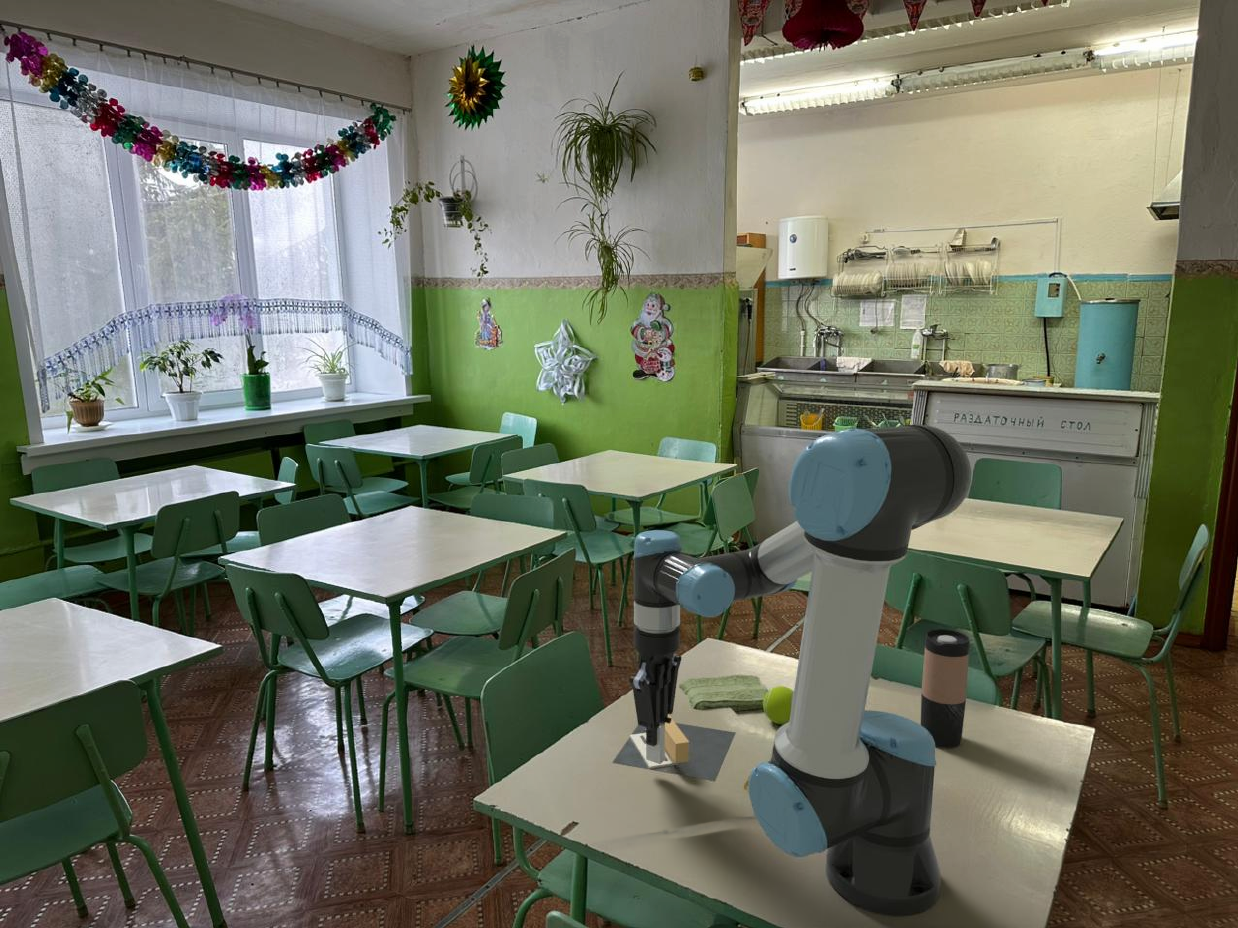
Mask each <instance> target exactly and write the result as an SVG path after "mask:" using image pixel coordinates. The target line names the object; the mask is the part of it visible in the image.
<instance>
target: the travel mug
mask: <svg viewBox="0 0 1238 928" xmlns="http://www.w3.org/2000/svg"><path fill="white" fill-rule="evenodd" d="M970 642H971V641H970V637H969V636H968V635H966V634H965V633H962V632H960V631H956V630H950V629H945V628H944V629H943V628H942V629H941V628H937V629H936V628H935V629H931V630H929V631H927V632H926V634H925V642H924V643H925V644H924V654H923V666H922V667H923V670H922V681H921V695H920V696H921V699H920V700H921V701H920V702H921V703H920V725H921V726H923V727H924V728H925V729H927V730H928V731H929V732H930V734H931V735H932V737H933V739H934V742H935V748H941V749H954V748H957V747H959V746H961V744H962V738H963V729H964V721H965V720H964V719H965V714H966V713H965V712H966V702H967V692H968V691H967V689H968V688H967V687H968V675H969V673H968V672H969V661H970V659H969V658H970V657H969V656H970Z"/></svg>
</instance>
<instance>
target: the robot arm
mask: <svg viewBox="0 0 1238 928" xmlns="http://www.w3.org/2000/svg"><path fill="white" fill-rule="evenodd" d="M971 483H972V466H971V462H970V460H969V457H968V454H967V451H965V449H964V447H963V446H962V444H961V443H960V442H959V441H958V440H957V439H956V438H955V437H954V436H953V435H950V433H948V432H946V431H945V430H943V429H940V428H938V427H935V426H933V425H932V426H930V425H927V424H907V425H900V426H899V425H898V426H889V427H878V428H877V427H876V428H862V429H861V428H855V427H854V428H848V429H845V430H841V431H840V430H839V431H838V432H832V433H828V434H825V435H822V436H820V437H818V438H816V439H814V440H813V442H811V443H809V444H808V445H807V446H806V447H805V448H803V450H802V451H801V453H800V454H799V456H798V457H797V458H796V461H795V463H794V465H793V467H792V470H791V475H790V479H789V485H788V486H789V488H788V493H789V494H788V495H789V502H790V505H791V506H794V508H795V509H794V511H793V515H794V518H795V520H796V521H794V522H793V523H791V524H790V525H788V526H786V527H785V528H783V529H781V530H779V531H778V532H776V533H774V534H773V535H771V536H769V537H768V538H766V539H765V540H763V541H762V542H760V543H758V544H756V545H754V546H753V547H751V548H748V549H744V550H740V551H734V552H729V553H723V554H717V555H711V556H706V557H697V558H696V557H694V556H691V555H687V553H684V552H682V549H683V547H682V541H681V537H680V535H679V534H678V533H677V532H674V531H670V530H665V529H663V530H661V529H653V530H647V531H643V532H640V533H639V534H637V535H636V537H635V539H634V550H633V551H634V552H633V553H634V555H633V556H632V559H633V623H634V625H635V626H634V627H633V648H634V649H635V651H636V652H637V653H638V655H639V660H638V665H637V666H638V672H637V673H636V675H635V676H634V675H631V676H630V677H629V684H630V686H631V688H632V692H633V699H634V706H635V711H636V712H635V713H636V719H637V726H638V725H639V726H643V727H646V760H649V761H652V762H655V763H658V764H661V763H662V762H663V761H664V760H665V722H666V723H671V720H673V718H672V717H671V718H668V714H669V715H672V714H673V713H674V705H675V700H676V699H675V698H676V693H677V691H676V690H677V682H678V675H679V670H680V666H681V663H682V655H678V654H675V653H676V652H678V650H679V649H680V646H681V645H680V643H681V642H680V636H681V635H680V634H681V632H680V627H679V626H680V624H681V608H683V609H685V610H686V611H688V612H690V613H692V614H693V613H694V614H695V615H699V616H702V617H705V618H716V617H718V616H721V615H722V613H724V611H726V610H728V609H729V608H730V606H732V603H734V602H739V601H743V600H748V599H753V598H757V597H758V598H759V597H763V596H767V595H771V596H773V595H777V594H780V593H783V592H785V591H787V590H790V589H792V588H793V587H795V585H796V583H797V582H798V580H799V579H800V578H802V577H804V576H807V575H809V574H810V573H811V574H810V575H811V576H810V582H809V588H808V596H807V602H806V608H805V616H804V621H803V627H802V629H803V630H802V635H801V641H800V642H801V643H800V648H799V649H800V650H799V655H798V656H799V657H798V662H797V669H796V675H795V681H794V682H795V683H794V689H793V691H794V694H793V701H792V708H791V714H790V721H789V722H788V723H786V724H782V725H781V726H780V727H779V728H778V729H777V731H776V732H775V734H774V739H773V740H774V741H773V747H772V751H771V752H772V754H771V758H770V759H769V761H768V762H767V761H763V762H761V763H759V764H758V765H757V766H755V767H754V768H753V769H752V770H751V772H750V773H749V775H750V777H749V783H748V787H749V792H748V796H749V800H750V805H751V807H752V810H753V812H754V813H753V814H754V815H755V817H756V818H757V819H756V820H757V821H758V824H759V825H760V827H761V829H762V830H763V832H764V833H765V835H766V836H767V838H769V840H770V841H771V842H772V843H773V844H774V846H776V847H777V848H778V849H779V850H781V851H782V852H783V853H786V854H787V855H789V856H791V857H795V858H804V857H808V856H811V855H814V854H817V853H818V854H821V853H824V852H825V851H826V850H827V851H826V856H825V857H826V858H825V874H826V877H827V880H828V882H829V883H830V885H831V886H832V887H833V889H834V890H835V891H836V892H837V893H838V894H839V895H840V896H841V897H843V898H844V899H846V900H847V901H849V902H851V903H852V904H854V905H855V906H858V907H861V908H863V909H865V910H867V911H871V912H874V913H879V914H882V915H883V914H884V915H891V916H909V915H915V914H919V913H922V912H924V911H926V910H928V909H930V908H931V907H933V906H935V904H936V902H937V901H938V899H939V897H940V893H941V880H942V879H941V870H940V867H939V863H938V859H937V856H936V853H935V849H934V845H933V842H932V838H931V835H930V834H931V821H932V809H933V807H932V806H933V794H934V781H935V767H936V766H937V760H936V746H935V742H934V739H933V737H932V735H931V734H930V732H929V731H928V730H927V729H925V728H924V727H923V726H921V723H920V724H919V722H916V721H915V720H912V719H910V718H908V717H905V716H903V715H899V714H896V713H895V714H894V713H893V712H892V713H891V712H886V711H880V710H871V709H870V710H868V709H867V710H866V705H867V704H866V703H867V698H868V694H869V693H868V692H869V687H870V682H871V677H872V671H873V666H874V659H875V654H876V653H875V652H876V649H877V643H878V637H879V631H880V626H881V620H882V615H883V610H884V609H883V608H884V604H885V599H886V598H885V597H886V592H887V587H888V580H889V576H890V570H891V567H892V566H894V565H895V564H897V563H899V562H901V561H902V560H904V559H905V558H906V557H907V555H908V549H909V544H910V539H911V533H912V531H913V530H916V529H918V528H920V527H922V526H924V525H926V524H929V523H931V522H933V521H936V520H940V519H942V518H946V517H947V516H949V515H950V514H951V513H953V512H955V510H957V509H958V508H959V507H960V506H961V505H962V504H963V502H964V501H965V500H966V497H967V495H968V493H969V491H970V486H971Z"/></svg>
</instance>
